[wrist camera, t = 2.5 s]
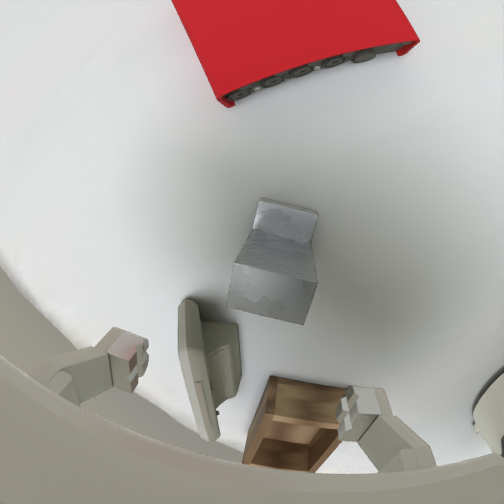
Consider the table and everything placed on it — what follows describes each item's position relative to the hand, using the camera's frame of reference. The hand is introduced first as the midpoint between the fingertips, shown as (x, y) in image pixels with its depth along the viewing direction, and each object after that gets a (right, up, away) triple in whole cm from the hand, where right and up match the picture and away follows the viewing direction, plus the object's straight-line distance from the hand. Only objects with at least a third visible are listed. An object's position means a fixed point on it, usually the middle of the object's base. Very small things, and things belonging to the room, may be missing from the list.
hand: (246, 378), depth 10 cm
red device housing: (+4, +27, +10) cm, 29 cm away
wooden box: (+6, -17, +23) cm, 29 cm away
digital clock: (-4, -6, +21) cm, 23 cm away
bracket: (+3, +5, +16) cm, 17 cm away
